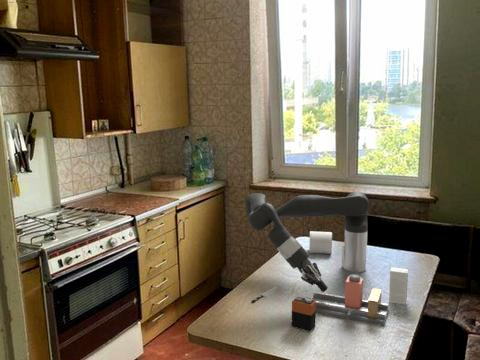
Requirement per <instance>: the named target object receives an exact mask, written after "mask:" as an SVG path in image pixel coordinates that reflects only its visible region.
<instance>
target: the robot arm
mask: <svg viewBox="0 0 480 360" xmlns="http://www.w3.org/2000/svg"><path fill="white" fill-rule="evenodd" d="M267 198H268V197H266V194H264V193H259V192H255V193H250V194H248V195H246V197H245V214H246V218H247V221H248V224H249V225H250V227H251V228H252V229H253V230H255V231H262V230H265V229H266V227H267V226H269V225H270V224H271V223H273V227H272V229H271V231H269V233H268V235H267V238H268V239H269V242H271V244H273V246H274V247H275V248H276V249H277V251H278V252H279V254H280V255H281V256H282V258H283V259H284V260H285V261H286V262H287V264H289V266H290V267H291V268H292V269H296V268H297V270H299V272H300V273H301V275H302V276H301V277H300V279H301V280H303V281H304V282H306V283H308V284H309V285H311V286H314V285H316V286H317V288H318V289H319V290H320V291H321V293H324V292H325V293H326V291H327V290H328V288H329V287H328V285H327V284H326V282H324V280H322V273H321V270H320V269H319V267H318V264H317V262H316V261H314V262H312V261H311V260H310V259H308V258H309V257H310V254H309V252H307V251H306V249H305V248H304V247H303V245H301V244H300V243H299V241H298V240H297V239H296V238H295V237H294V236H293V235H292V234H291V233H290V232H289V231H288V230H287V228H286V227H285V226H284V225H283V222H282V221H281V219H280V218H314V217H315V218H316V217H328V216H344V243H343V245H342V249H341V252H342V253H341V267H342V268H343V269H344V270H345V271H347V272H350V273H363V272H365V271H366V269H367V250H368V249H367V247H368V228H369V227H368V226H369V225H368V223H369V222H368V212H369V210H370V206H371V204H370V201H369V199H368V197H367V196H366V194H365V193H364V192H362V191H358V190H356V191H351V192H350V193H349V194H347V196H345V197H344V196H342V197H330V196H324V195H316V194H305V195H304V194H303V195H297V196H294V197H293V198H291V199H289V200H288V201H286V202H285V203H284V204H283V205H281V206H279V207H277V208H275V207H274V206H273V205H272V204H271V203H269V202H268V199H267Z"/></svg>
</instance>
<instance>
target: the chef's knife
mask: <svg viewBox="0 0 480 360" xmlns="http://www.w3.org/2000/svg"><path fill="white" fill-rule="evenodd" d="M277 287H278V286H277V285H275V286H273V287H272V288H270V289H268V290H267V291H265V292H264V293H262V294H260V295H259V296H257V297H255V298H254V299H252V300H251V301H250V303H251V304H254V303H256V302H257V301H259V300H260V299H262V298H269V297H270V296H271V295H273V294H274V293H275V292H276V291H277Z"/></svg>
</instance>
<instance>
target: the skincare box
mask: <svg viewBox="0 0 480 360" xmlns="http://www.w3.org/2000/svg"><path fill="white" fill-rule="evenodd" d="M408 279H409V269H408V268H399V267H392V266H391V267H390V272H389V294H388V302H389V303H391V304H399V305H407V302H408V301H407V299H408V282H409V281H408Z"/></svg>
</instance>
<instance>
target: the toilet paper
mask: <svg viewBox="0 0 480 360" xmlns="http://www.w3.org/2000/svg"><path fill="white" fill-rule="evenodd" d="M332 247H333V232H331V231H313V230H312V231H311V230H310V231H309V253H310V254H311V253H312V254H324V253H325V254H327V255H328V254H329V255H331V254H332V252H333V249H332ZM325 254H324V255H325Z"/></svg>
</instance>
